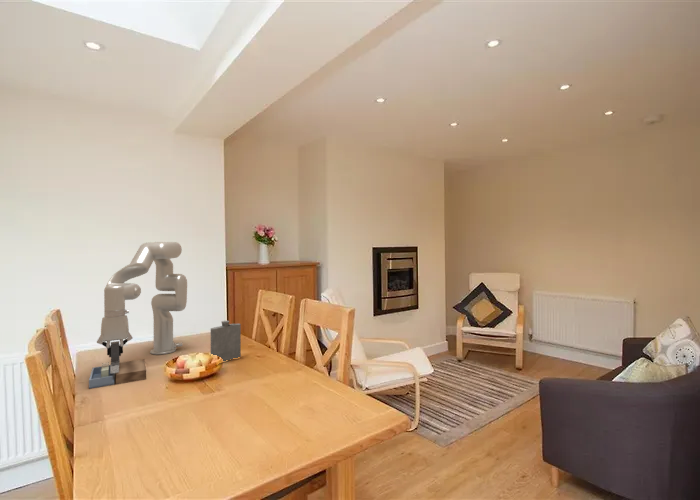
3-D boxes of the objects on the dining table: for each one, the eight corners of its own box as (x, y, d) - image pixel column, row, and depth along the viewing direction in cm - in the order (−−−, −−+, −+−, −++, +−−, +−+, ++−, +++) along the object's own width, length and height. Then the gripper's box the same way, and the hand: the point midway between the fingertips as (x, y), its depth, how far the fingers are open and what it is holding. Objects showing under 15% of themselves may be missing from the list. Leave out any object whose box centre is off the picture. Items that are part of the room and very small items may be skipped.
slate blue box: (115, 371, 164) (115, 364, 164) (114, 384, 149) (114, 376, 149) (92, 375, 159) (92, 367, 159) (89, 388, 144) (88, 380, 144)
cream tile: (108, 362, 160) (102, 363, 159) (108, 365, 156) (101, 366, 155) (109, 373, 160) (102, 374, 159) (108, 376, 156) (101, 377, 155)
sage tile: (108, 366, 154) (101, 367, 153) (108, 369, 150) (101, 371, 149) (108, 378, 154) (101, 379, 153) (108, 381, 150) (101, 383, 149)
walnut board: (144, 367, 170) (144, 359, 170) (146, 379, 155) (146, 369, 155) (116, 371, 164) (116, 363, 164) (115, 384, 149) (115, 374, 149)
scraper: (119, 361, 164) (119, 337, 164) (119, 372, 150) (118, 346, 150) (111, 363, 162) (111, 338, 162) (110, 373, 149) (110, 347, 149)
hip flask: (212, 365, 173) (212, 324, 173) (208, 363, 175) (208, 323, 175) (241, 358, 185) (241, 319, 185) (237, 356, 187) (237, 318, 187)
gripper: (136, 310, 164) (136, 350, 164) (92, 314, 155) (92, 356, 155) (136, 313, 157) (137, 355, 158) (91, 317, 149) (91, 361, 149)
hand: (115, 355), depth 156 cm, fingers closed on scraper, 3 cm apart
